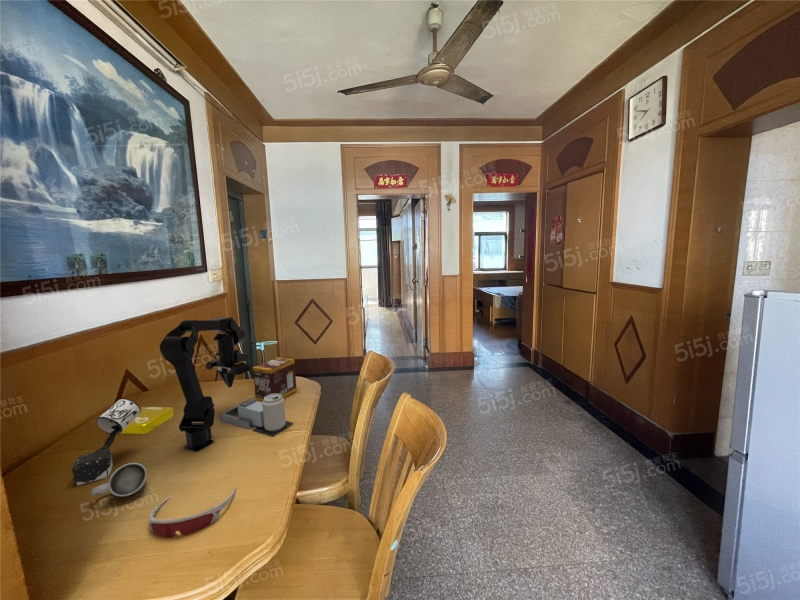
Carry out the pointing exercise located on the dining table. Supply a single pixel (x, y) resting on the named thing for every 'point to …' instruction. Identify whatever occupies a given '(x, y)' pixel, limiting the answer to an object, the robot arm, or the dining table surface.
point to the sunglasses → (185, 520)
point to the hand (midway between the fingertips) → (230, 387)
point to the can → (273, 412)
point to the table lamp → (101, 460)
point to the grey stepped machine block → (251, 412)
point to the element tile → (148, 419)
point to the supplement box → (274, 378)
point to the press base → (248, 422)
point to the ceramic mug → (124, 481)
